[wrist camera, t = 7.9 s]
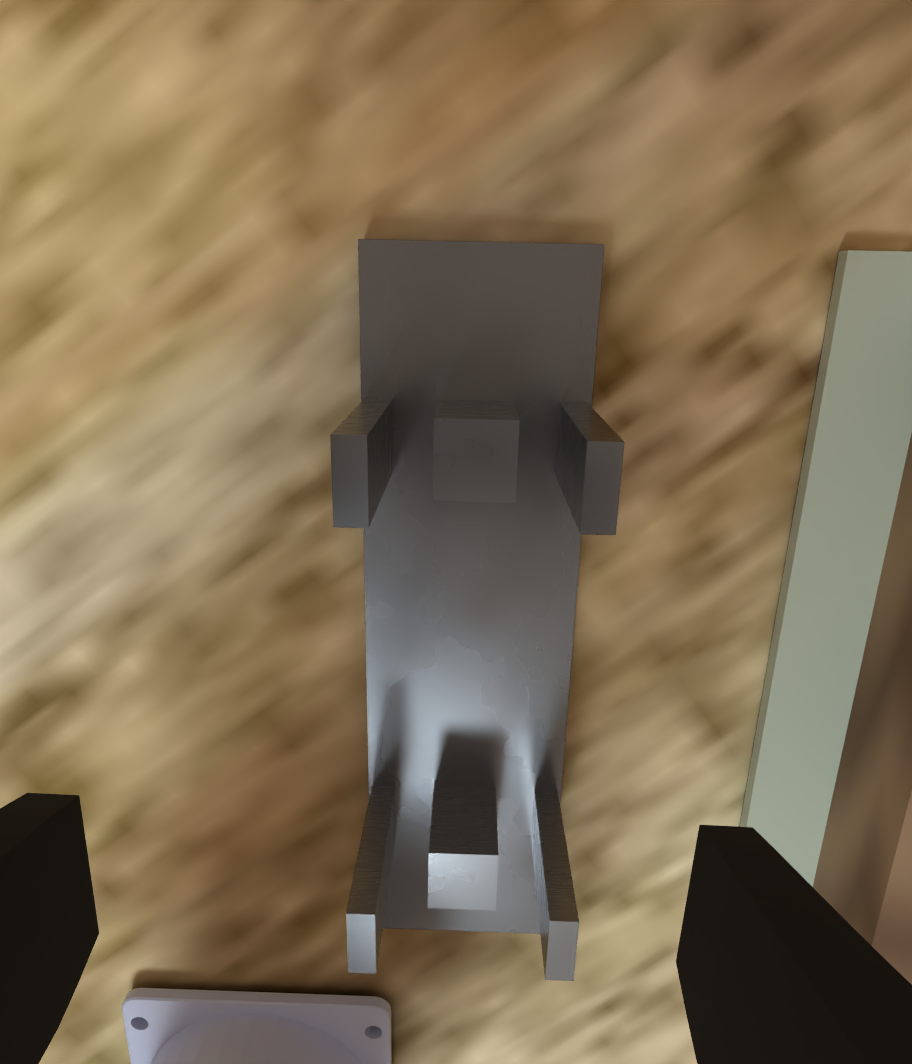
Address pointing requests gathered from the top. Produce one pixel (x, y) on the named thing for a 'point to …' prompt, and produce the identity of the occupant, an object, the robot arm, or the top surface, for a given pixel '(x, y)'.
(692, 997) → the robot arm
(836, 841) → the rail
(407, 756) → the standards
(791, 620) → the mat
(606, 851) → the top surface
